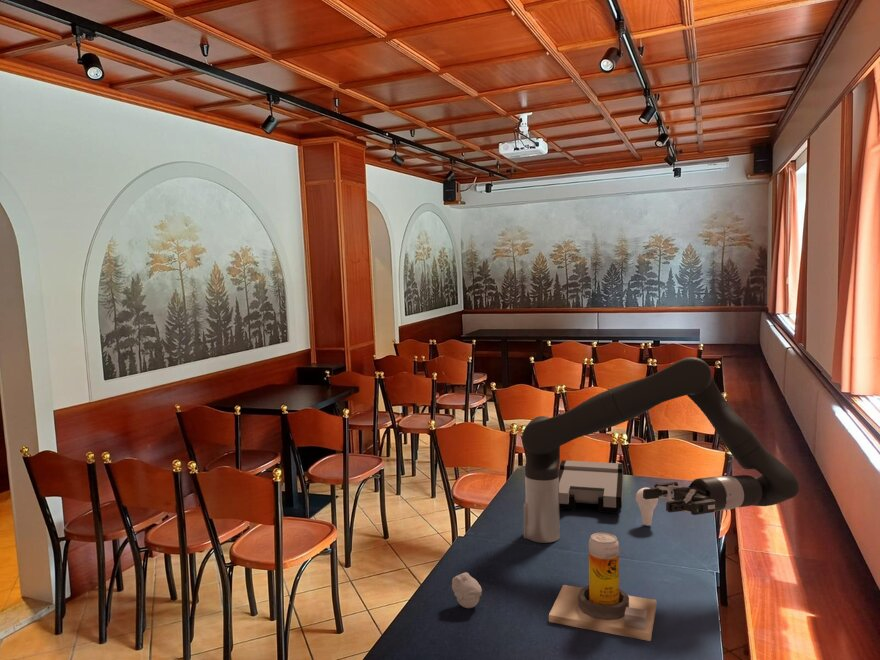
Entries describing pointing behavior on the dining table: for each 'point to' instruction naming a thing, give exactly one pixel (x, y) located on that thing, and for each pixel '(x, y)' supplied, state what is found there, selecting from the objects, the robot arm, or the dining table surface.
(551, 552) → the dining table surface
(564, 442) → the robot arm
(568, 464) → the game console
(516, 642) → the dining table surface
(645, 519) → the lightbulb
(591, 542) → the beer can
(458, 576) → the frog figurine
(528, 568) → the dining table surface
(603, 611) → the board
